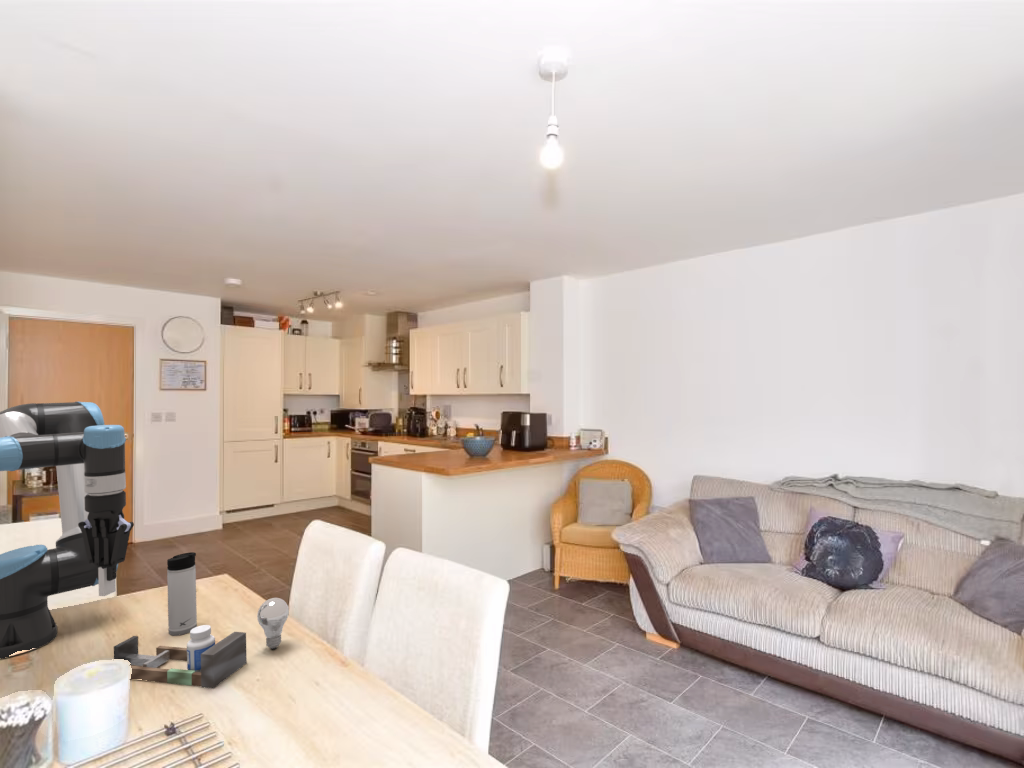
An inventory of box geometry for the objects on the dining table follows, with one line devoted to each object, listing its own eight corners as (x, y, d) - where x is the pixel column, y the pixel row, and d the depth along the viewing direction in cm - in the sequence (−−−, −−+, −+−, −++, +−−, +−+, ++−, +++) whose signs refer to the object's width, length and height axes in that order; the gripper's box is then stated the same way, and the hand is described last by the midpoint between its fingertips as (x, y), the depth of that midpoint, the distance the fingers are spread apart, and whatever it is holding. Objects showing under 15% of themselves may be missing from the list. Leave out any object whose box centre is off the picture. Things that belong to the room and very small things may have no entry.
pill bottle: (221, 666, 117) (220, 623, 117) (204, 680, 112) (203, 635, 112) (199, 665, 118) (198, 622, 118) (181, 679, 113) (180, 634, 113)
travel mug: (188, 635, 132) (186, 557, 132) (162, 636, 133) (161, 558, 133) (203, 624, 139) (201, 549, 139) (179, 624, 139) (177, 550, 139)
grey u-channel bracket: (111, 670, 116) (111, 647, 116) (136, 656, 122) (135, 634, 122) (146, 673, 114) (146, 650, 114) (169, 659, 120) (169, 637, 120)
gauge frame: (121, 679, 113) (121, 647, 113) (160, 655, 123) (160, 625, 123) (213, 688, 109) (213, 655, 109) (246, 663, 119) (246, 632, 119)
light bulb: (280, 638, 130) (279, 590, 130) (295, 646, 126) (293, 597, 126) (252, 649, 125) (251, 600, 125) (266, 659, 120) (265, 607, 120)
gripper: (65, 494, 117) (67, 598, 118) (113, 497, 115) (115, 602, 115) (97, 487, 125) (99, 585, 125) (143, 489, 122) (145, 589, 122)
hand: (107, 593), depth 120 cm, fingers closed
